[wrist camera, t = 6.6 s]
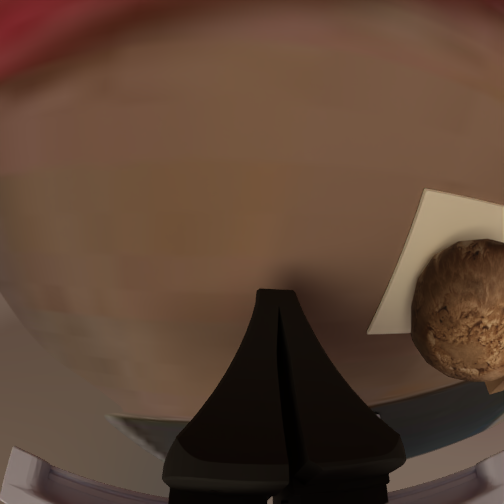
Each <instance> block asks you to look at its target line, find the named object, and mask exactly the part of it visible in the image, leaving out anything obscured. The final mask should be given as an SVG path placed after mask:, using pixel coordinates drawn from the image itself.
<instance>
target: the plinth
mask: <svg viewBox="0 0 504 504" xmlns="http://www.w3.org/2000/svg"><path fill="white" fill-rule="evenodd" d="M485 384H486V386H487V389H488V392H489V394H493V393H496V392H499V391H502V390H504V376H502V377H501V378H499V379H496V380H493V381H485Z"/></svg>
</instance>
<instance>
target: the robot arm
mask: <svg viewBox="0 0 504 504" xmlns="http://www.w3.org/2000/svg"><path fill="white" fill-rule="evenodd" d="M405 461H406V455H405V450H404V446H403V443H402V441H401V438H400V435H399V434H398V433H397V432H395V431H394V430H393V429H392V428H391V427H389V426H388V425H387V424H386V423H385V422H384V421H383V420H381V419H380V415H379V414H375V413H374V412H373V411H372V410H371V409H370V408H369V407H368V406H367V405H366V404H365V403H364V402H363V401H362V399H361V398H360V397H359V396H358V395H357V394H356V393H355V392H354V391H353V389H352V388H351V387H350V386H349V385H348V383H347V382H346V381H345V380H344V378H343V377H342V376H341V374H340V373H339V372H338V370H337V369H336V368H335V366H334V365H333V363H332V362H331V360H330V359H329V357H328V356H327V354H326V353H325V351H324V349H323V348H322V346H321V345H320V343H319V341H318V339H317V338H316V336H315V334H314V332H313V330H312V328H311V327H310V325H309V323H308V321H307V319H306V317H305V315H304V312H303V310H302V308H301V306H300V303H299V301H298V299H297V296H296V293H295V292H294V291H293V290H276V289H259V290H257V294H256V303H255V307H254V311H253V314H252V318H251V320H250V323H249V326H248V328H247V331H246V334H245V336H244V338H243V340H242V342H241V345H240V347H239V349H238V351H237V353H236V355H235V357H234V359H233V361H232V363H231V364H230V366H229V368H228V370H227V371H226V373H225V375H224V376H223V378H222V379H221V381H220V383H219V384H218V386H217V387H216V389H215V390H214V392H213V393H212V394H211V396H210V397H209V398H208V400H207V401H206V402H205V404H204V405H203V406H202V408H201V409H200V410H199V412H198V413H197V414H196V415H195V416H194V418H193V419H192V420H191V421H190V422H189V423H188V424H187V426H186V427H185V428H184V429H183V430H182V431H181V432H180V433H179V434H178V436H177V437H176V439H175V441H174V443H173V444H172V446H171V448H170V450H169V452H168V454H167V457H166V459H165V463H164V467H163V474H162V480H163V481H164V482H165V483H166V484H167V485H168V486H169V487H170V493H169V498H165V497H160V496H154V495H150V494H145V493H140V492H136V491H131V490H127V489H123V488H119V487H115V486H112V485H108V484H105V483H101V482H98V481H95V480H91V479H88V478H85V477H82V476H79V475H76V474H73V473H71V472H68V471H65V470H63V469H60V468H57V467H55V466H52V465H50V464H49V463H48V462H47V461H45V460H43V459H41V458H40V457H38V456H35V455H33V454H31V453H29V452H26V451H24V450H22V449H20V448H18V447H16V446H14V447H13V448H12V452H11V455H10V459H9V462H8V466H7V469H6V473H5V477H4V481H3V486H2V489H1V494H0V500H1V501H3V502H4V503H6V504H267V500H268V499H269V498H270V497H271V496H273V504H504V450H503V451H501V452H499V453H497V454H494V455H492V456H490V457H488V458H486V459H484V460H483V461H480V462H479V463H477V464H476V465H475V466H472V467H470V468H467V469H465V470H462V471H460V472H457V473H454V474H451V475H448V476H446V477H442V478H439V479H437V480H433V481H430V482H427V483H423V484H420V485H416V486H412V487H409V488H405V489H401V490H397V491H393V492H388V493H387V486H386V484H388V483H389V481H390V480H389V473H390V472H392V471H394V470H396V469H397V468H399V467H401V466H402V465H403V464H404V463H405Z"/></svg>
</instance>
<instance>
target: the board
mask: <svg viewBox="0 0 504 504" xmlns="http://www.w3.org/2000/svg"><path fill="white" fill-rule="evenodd" d="M478 239H491V240H495V241H499V242H503V243H504V205H500V204H496V203H492V202H488V201H484V200H480V199H475V198H471V197H466V196H462V195H457V194H452V193H447V192H442V191H437V190H432V189H427V188H424V191H423V194H422V197H421V200H420V203H419V206H418V209H417V212H416V215H415V218H414V221H413V224H412V226H411V229H410V232H409V235H408V237H407V240H406V243H405V245H404V248H403V250H402V253H401V255H400V258H399V261H398V263H397V265H396V268H395V270H394V273H393V275H392V277H391V280H390V282H389V284H388V287H387V289H386V291H385V294H384V296H383V298H382V300H381V302H380V305H379V307H378V309H377V311H376V313H375V315H374V317H373V320H372V322H371V324H370V326H369V328H368V330H367V334H398V333H411V304H412V300H413V296H414V291H415V287H416V282H417V279H418V277H419V276H420V274H421V273H422V271H423V270H424V268H425V267H426V266H427V264H428V263H429V261H430V260H431V258H432V257H433V256H434V255H435V254H437V253H439V252H440V251H442V250H444V249H446V248H447V247H449V246H451V245H453V244H454V243H456V242H458V241H466V240H478Z"/></svg>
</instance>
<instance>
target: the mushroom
mask: <svg viewBox="0 0 504 504" xmlns="http://www.w3.org/2000/svg"><path fill="white" fill-rule="evenodd" d="M411 336H412V340H413V342H414V344H415V346H416V347H417V349H418V350H419V352H420V353H421V355H422V356H423V358H424V359H425V361H426V362H427V363H428V364H430V365H431V366H433V367H434V368H436V369H437V370H439V371H440V372H442V373H443V374H445V375H447V376H448V377H452V378H456V379H460V380H465V381H472V382H481V381H493V380H496V379H499V378H501V377H502V376H504V243H503V242H499V241H495V240H491V239H478V240H466V241H458V242H456V243H454V244H453V245H451V246H449V247H447V248H446V249H444V250H442V251H440V252H439V253H437V254H435V255H434V256H433V257H432V258H431V260H430V261H429V263H428V264H427V266H426V267H425V268H424V270H423V271H422V273H421V274H420V276H419V277H418V279H417V282H416V287H415V291H414V296H413V300H412V304H411Z"/></svg>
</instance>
